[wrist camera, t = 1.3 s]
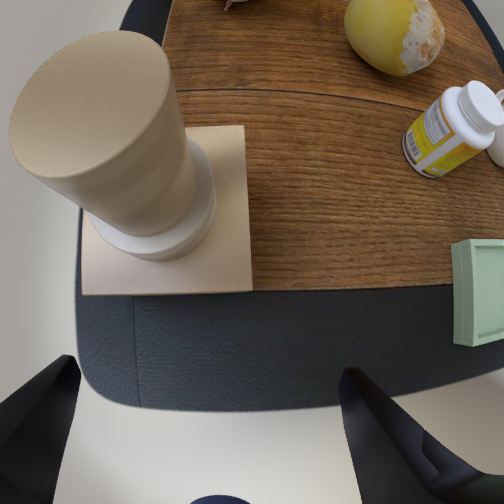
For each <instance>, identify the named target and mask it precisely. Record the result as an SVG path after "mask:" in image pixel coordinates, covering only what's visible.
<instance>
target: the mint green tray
mask: <svg viewBox="0 0 504 504" xmlns="http://www.w3.org/2000/svg"><path fill="white" fill-rule="evenodd" d="M451 256H452V270H453V293H454V334H453V343H454V344H460V345H466V346H472V347H474V346H478V345H481V344H485V343H489V342H492V341H496V340H499V339H503V338H504V240H497V239H468V240H464V241H461V242H457V243H453V244H451Z"/></svg>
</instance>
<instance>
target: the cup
mask: <svg viewBox="0 0 504 504" xmlns="http://www.w3.org/2000/svg"><path fill="white" fill-rule="evenodd" d="M495 96H496V97H497V99H498V100H499V102H500V103H501V101H502V100H503V99H504V89H502V90H500V91H499V92H497V93H496V95H495ZM502 108H503V111H504V104H503V105H502ZM486 149H487V152H488V154H489V156H490V157H491V159H492V160H493V161H494V162H495V163H496V164H497V165H498V166H501V167H503V168H504V123H503V124H502V125H501V126H500V127H498V128H497V129H496V130H495V135H494V139H493V142H492V143H491V145H490V146H488V147H487V148H486Z"/></svg>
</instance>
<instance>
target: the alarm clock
mask: <svg viewBox="0 0 504 504" xmlns="http://www.w3.org/2000/svg"><path fill="white" fill-rule="evenodd" d="M233 1H235V2H242V1H247V0H228V1H227V4H226V7H225V8H224V11H228V7H229V6H230V5H231V4H232V2H233Z"/></svg>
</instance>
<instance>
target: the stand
mask: <svg viewBox="0 0 504 504" xmlns="http://www.w3.org/2000/svg"><path fill="white" fill-rule="evenodd" d="M185 131H186V135H187V136H188V137H190V138H191V139H192V140H194V141H195V142H196V143H197V144H198V145H199V146H200V147H201V148H202V149H203V151H204V152H205V154H206V155H207V157H208V159H209V161H210V164H211V167H212V171H213V176H214V184H215V192H216V203H217V205H216V214H215V218H214V221H213V224H212V226H211V228H210V230H209V232H208V234H207V235H206V237H205V238H204V239H203V241H202V242H201V243H200V244H199V245H198V246H197V247H196V248H194V249H193V250H192V251H190V252H189V253H187V254H186V255H184V256H182V257H179V258H177V259H174V260H169V261H163V262H153V261H147V260H143V259H140V258H137V257H135V256H132V255H130V254H128V253H125V252H123V251H121V250H118V249H117V248H115V247H113V246H111V245H110V244H109V243H107V242H106V241H105V240H104V239H103V238H102V237H101V236H100V235H99V234H98V232H97V231H96V230H95V228H94V226H93V224H92V222H91V220H90V217H89V214H88V211H86V210H85V209H84V210H83V228H82V295H83V296H155V295H189V294H215V293H237V292H248V291H252V290H253V283H252V264H251V246H250V227H249V208H248V189H247V170H246V151H245V132H244V125H233V126H208V127H191V128H185Z"/></svg>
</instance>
